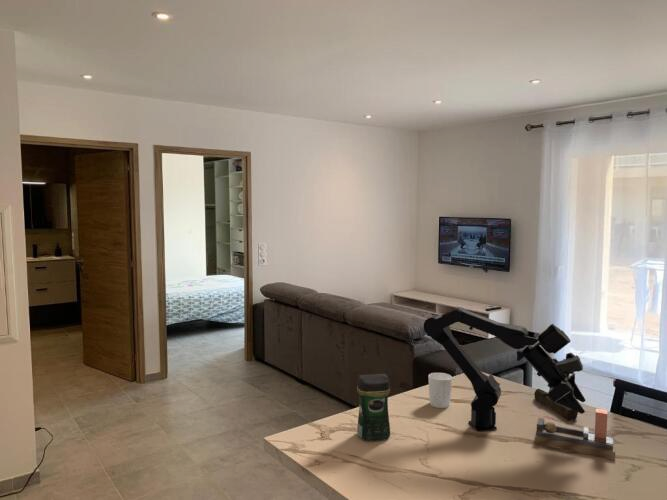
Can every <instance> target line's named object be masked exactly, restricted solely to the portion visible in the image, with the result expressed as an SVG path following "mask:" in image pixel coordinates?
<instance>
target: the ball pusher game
mask: <svg viewBox="0 0 667 500" xmlns="http://www.w3.org/2000/svg"><path fill="white" fill-rule="evenodd" d="M545 424H546V423H545V418H543V417H538V418H537V423H536V431H535V434H534V435H535V436H534V444H537V445H541V446H546V447H551V448H556V449H562V450H565V451H571V452H576V453H581V454H586V455H590V456H595V457H600V458H605V459H611V460H615V459H616V446H615V438H613V435H609V434H607V435H606V436H607V437H612V438H613V445H612V444H607V443H601V442H596V441H591V440H586V439H583V436H584V429H583V430H582V429H577V428H572V427H566V426H561V425H556V432H555V433H549V432H546V430H545ZM588 433H590V434H595V431H594V432H593V431H589V432H588Z"/></svg>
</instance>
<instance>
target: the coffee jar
mask: <svg viewBox="0 0 667 500" xmlns="http://www.w3.org/2000/svg"><path fill="white" fill-rule="evenodd" d="M356 391H357V393H358V395H359V399H358V400H359V407H358V415H357V416H358V418H357V436H358V438H359V439H361V440H363V441H364V442H376V441H385V440H388V439H389V438H390V436H391V426H390V424H391V423H390V416H389V415H390V414H389V405H388V404H389V403H388V399H389V394H390V393H391V392H390V391H391V385H390V379H389V377H388V376H387V374H385V373H378V374H377V373H375V374H371V373H370V374H359V375H358V378H357V387H356Z"/></svg>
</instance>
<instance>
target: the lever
mask: <svg viewBox="0 0 667 500" xmlns="http://www.w3.org/2000/svg"><path fill="white" fill-rule="evenodd" d="M594 420H595V421H594V433H595V434H590V433H588V432H590V430H589V427H587V426H584V427H583V431H584V436H583V439H586V440H591V441H596V442H601V443H607V444H612V445H613V439H614V438H613V436H612V437H607V436H606V435H608V434H607V433H608V432H607V430H608V410H606V409H601V408H595V419H594Z"/></svg>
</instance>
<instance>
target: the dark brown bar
mask: <svg viewBox="0 0 667 500" xmlns="http://www.w3.org/2000/svg"><path fill="white" fill-rule="evenodd" d="M534 400H535V401H536V402H537V403H539V404H540V405H541V406H546V407H548V408H550V409H551V410H553V411H554V412H557V414H560V415H561V416H562V417H564V418H566V420H567V421H568V422H570V421H576V420H577V418H578V413H579V412H577V411H575V410H573V409H571V408H568V407H566V406H564V405H562V404H559V403H556V402H552V400H551V399H550V398H549V397H548V392H547V391H546V390H543V389H540V388H537V389H536V390H535V391H534Z"/></svg>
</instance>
